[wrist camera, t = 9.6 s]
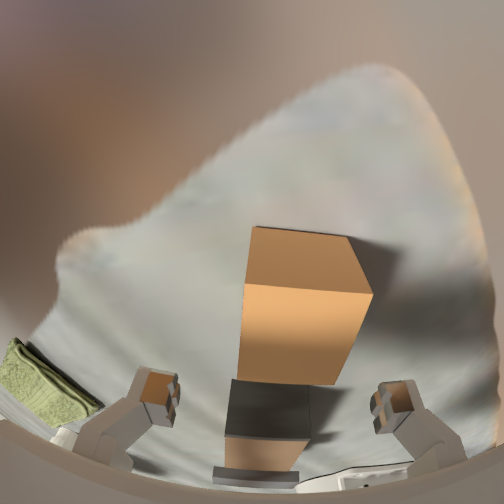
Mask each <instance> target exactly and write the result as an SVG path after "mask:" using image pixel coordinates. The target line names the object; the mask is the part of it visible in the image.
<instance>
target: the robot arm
mask: <svg viewBox="0 0 504 504" xmlns="http://www.w3.org/2000/svg"><path fill="white" fill-rule="evenodd" d="M177 381H178V375H177V373H173V372H168V371H163V370H157V369H153V368H148V367H143V366H140V367H139V368H138V370H137V372H136V374H135V377H134V379H133V382H132V384H131V387H130V390H129V392H128V395H127V397H126V398H124V397H123V398H121V399H120V400H118V401H117V402H116V403H114V404H113V405H111V406H110V407H108V408H107V409H106V410H104V411H103V412H101V413H100V414H98V415H97V416H95V417H94V418H93V419H91V420H90V421H88V422H87V423H85V424H84V425H82V427H81V429H80V432H79V434H78V437H77V439H76V442H75V444H74V447H73V449H72V452H71V451H69V450H67V449H64V448H62V447H60V446H58V445H56V444H53V443H51V442H49V441H47V440H45V439H43V438H41V437H39V436H37V435H35V434H33V433H32V432H30V431H28V430H26V429H24V428H23V427H21V426H19V425H17V424H16V423H14V422H12V421H10V420H8V419H3V420H0V504H504V444H502V445H499V446H497V447H495V448H493V449H491V450H489V451H486V452H484V453H482V454H480V455H477V456H475V457H472V458H470V459H467V457H466V454H465V450H464V447H463V444H462V441H461V438H460V436H459V435H457V434H456V433H455V432H454V431H453V430H452V429H450V428H449V427H448V426H447V425H446V424H445V423H443V422H442V421H441V420H440V419H439V418H438V417H437V416H435V415H434V414H433V413H432V412H431V411H430V410H428V409H425V408H424V405H423V402H422V399H421V397H420V394H419V391H418V388H417V386H416V383H415V381H414V380H403V381H402V380H400V381H390V382H382V383H380V384H379V386H378V391H377V392H375V393H374V394H373V396H372V397H371V401H370V410H371V414H372V415H374V416H375V419H374V421H373V424H374V428H375V433H376V435H377V434H386V433H393V434H394V436H395V437H396V438H397V439H398V440H399V441H400V443H401V444H402V445H403V446H404V447H405V449H406V450H407V451H408V452H409V453H410V454H411V456H412V457H413V458H414V459H415V460H416V461H415V462H410V463H404V464H396V465H387V466H377V467H364V468H352V469H348V470H345V471H342V472H339V473H336V474H333V475H329V476H324V477H320V478H316V479H312V480H308V481H305V482H303V483H300V484H298V485H297V486H296V487H295V490H296V492H297V494H265V493H244V492H232V491H222V490H213V489H206V488H199V487H193V486H187V485H181V484H176V483H171V482H166V481H162V480H157V479H153V478H149V477H145V476H141V475H138V474H134V473H131V471H132V467H133V463H134V462H133V461H132V459H131V458H130V457H129V455H128V454H127V453H126V452H125V450H126V449H128V448H129V447H130V446H131V445H132V444H133V443H134V442H135V441H136V440H137V439H139V438H140V437H141V436H142V435H143V434H144V433H145V432H146V431H147V430H148V429H149V428H150V427H151V426H152V424H154V425H159V426H165V427H170V428H173V424H174V420H175V416H176V413H175V409H174V408H176V407H177V406H178V404H179V400H180V384H178V383H177Z"/></svg>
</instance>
